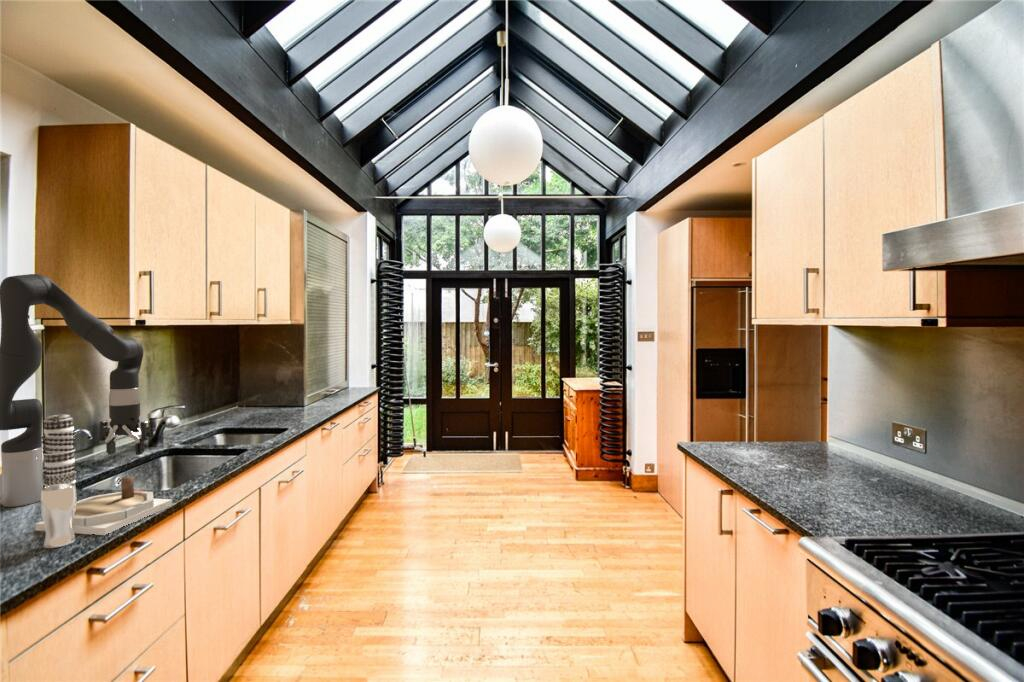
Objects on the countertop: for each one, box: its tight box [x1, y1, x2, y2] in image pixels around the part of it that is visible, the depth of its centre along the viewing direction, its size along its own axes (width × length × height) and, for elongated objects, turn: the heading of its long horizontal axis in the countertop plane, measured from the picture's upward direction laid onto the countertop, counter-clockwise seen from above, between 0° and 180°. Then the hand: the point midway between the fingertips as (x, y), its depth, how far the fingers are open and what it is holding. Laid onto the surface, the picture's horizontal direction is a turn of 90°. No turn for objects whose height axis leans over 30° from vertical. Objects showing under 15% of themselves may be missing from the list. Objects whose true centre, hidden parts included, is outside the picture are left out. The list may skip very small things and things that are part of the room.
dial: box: [75, 476, 144, 516], centre depth 143 cm, size 17×17×8 cm
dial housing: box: [35, 490, 173, 536], centre depth 143 cm, size 22×22×4 cm
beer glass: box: [39, 482, 78, 549], centre depth 126 cm, size 7×7×15 cm
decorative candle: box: [42, 413, 78, 487], centre depth 173 cm, size 9×9×25 cm
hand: (125, 454), depth 150 cm, fingers open, 8 cm apart
